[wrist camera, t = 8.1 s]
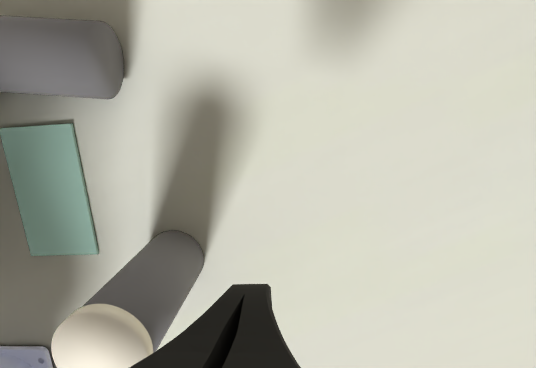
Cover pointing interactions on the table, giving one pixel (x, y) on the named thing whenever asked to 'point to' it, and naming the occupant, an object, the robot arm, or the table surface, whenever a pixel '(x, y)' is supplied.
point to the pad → (50, 189)
